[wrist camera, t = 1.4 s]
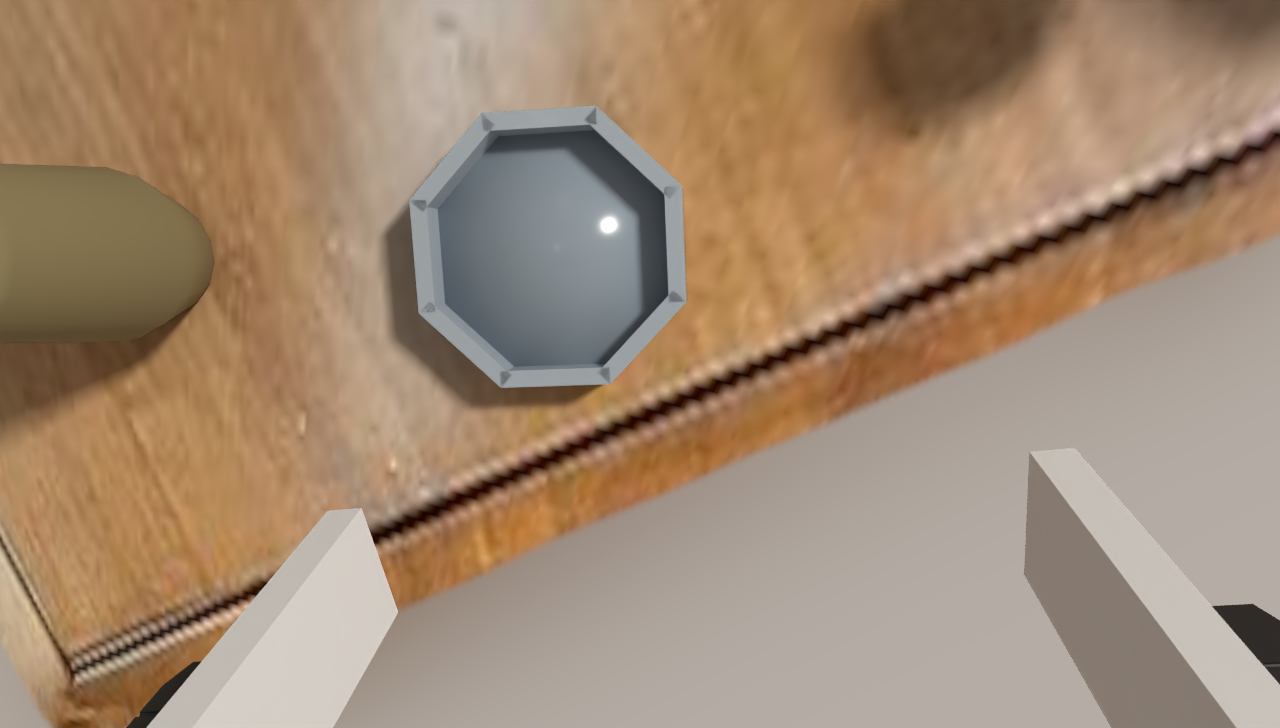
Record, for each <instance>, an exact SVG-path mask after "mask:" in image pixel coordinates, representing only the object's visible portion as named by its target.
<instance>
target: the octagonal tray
mask: <svg viewBox="0 0 1280 728" xmlns="http://www.w3.org/2000/svg"><path fill="white" fill-rule="evenodd" d="M409 205H410V217H411V228H412V240H413V252H414V264H415V276H416V288H417V300H418V312H419V314H420V315H421V316H422V317H423V318H424V319H425V320H427V321H428V322H429V323H430V324H431V325H432V326H433V327H434V328H435V329H437V330H438V331H439V332H440V333H441V334H442V335H443V336H444V337H445V338H446V339H448V340H449V341H450V342H451V343H452V344H453V345H454V346H455V347H456V348H457V349H459V350H460V351H461V352H462V353H463V354H464V355H465V356H466V357H467V358H468V359H470V360H471V361H472V362H473V363H474V364H475V365H476V366H477V367H478V368H480V369H481V370H482V371H483V372H484V373H485V374H486V375H487V376H488V377H489V378H491V379H492V380H493V381H494V382H495V383H496V384H497V385H498V386H499V387H500V388H514V387H543V386H572V385H602V384H611V383H612V382H613V381H614V380H615V379H616V378H617V376H618V375H619V374H620V373H621V372H622V371H623V370H624V369H625V368H626V367H627V366H628V365H629V363H630V362H631V361H632V360H633V359H634V358H635V357H636V356H637V355H638V354H639V353H640V352H641V350H642V349H643V348H644V347H645V346H646V345H647V344H648V343H649V342H650V341H651V340H652V339H653V337H654V336H655V335H656V334H657V333H658V332H659V331H660V330H661V329H662V328H663V327H664V326H665V324H666V323H667V322H668V321H669V320H670V319H671V318H672V317H673V316H674V315H675V314H676V313H677V311H678V310H679V309H680V308H681V307H682V306H683V305H684V304H685V303H686V301H687V286H686V260H685V234H684V207H683V189H682V185H681V184H680V183H679V182H678V181H677V180H675V179H674V178H673V177H672V176H671V175H670V174H669V173H668V172H667V171H666V170H665V169H664V168H663V167H661V166H660V165H659V164H658V163H657V162H656V161H655V160H654V159H653V158H652V157H651V156H650V155H649V154H647V153H646V152H645V151H644V150H643V149H642V148H641V147H640V146H639V145H638V144H637V143H636V142H635V141H633V140H632V139H631V138H630V137H629V136H628V135H627V134H626V133H625V132H624V131H623V130H622V129H621V128H620V127H618V126H617V125H616V124H615V123H614V122H613V121H612V120H611V119H610V118H609V117H608V116H607V115H606V114H604V113H603V112H602V111H601V110H600V109H599V108H598V107H597V106H582V107H567V108H551V109H535V110H520V111H504V112H488V113H481V114H480V115H479V117H478V118H477V119H476V120H475V121H474V123H473V124H472V125H471V126H470V127H469V129H468V130H467V131H466V132H465V134H464V135H463V136H462V137H461V138H460V140H459V141H458V142H457V143H456V144H455V146H454V147H453V148H452V149H451V150H450V152H449V153H448V154H447V155H446V156H445V158H444V159H443V160H442V161H441V163H440V164H439V165H438V166H437V167H436V169H435V170H434V171H433V172H432V173H431V175H430V176H429V177H428V178H427V179H426V181H425V182H424V183H423V184H422V186H421V187H420V188H419V189H418V190H417V192H416V193H415V194H414V195H413V196H412V198H411V199H410V201H409Z"/></svg>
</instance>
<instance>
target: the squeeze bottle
mask: <svg viewBox="0 0 1280 728" xmlns="http://www.w3.org/2000/svg"><path fill="white" fill-rule="evenodd" d="M213 266H214V258H213V252H212V246H211V240H210V238H209V237H208V235H207V233H206V231H205V230H204V228H203V226H202V224H201V223H200V221H199V219H197V218H196V217H195V216H194V215H192V214H191V213H190V212H189V211H188V210H186V209H185V208H184V207H183V206H181V205H180V204H179V203H177V202H176V201H174V200H173V199H171V198H169V197H168V196H166V195H165V194H163V193H162V192H160V191H159V190H157V189H156V188H154V187H153V186H151V185H150V184H148V183H147V182H145V181H144V180H142V179H141V178H139V177H136V176H133V175H130V174H126V173H123V172H120V171H117V170H113V169H110V168H107V167H78V166H48V165H19V164H0V343H24V342H113V341H123V340H134V339H139V338H141V337H143V336H144V335H146V334H148V333H149V332H151V331H153V330H155V329H156V328H158V327H160V326H161V325H163V324H165V323H166V322H168V321H169V320H171V319H172V318H174V317H175V316H177V315H178V314H180V313H181V312H183V311H184V310H186V309H187V308H189V307H190V306H192V305H193V304H195V303H196V302H197V301H198V300H199V299H200V297H201V296H202V294H203V293H204V292H205V290H206V289H207V287H208V286H209V284H210V280H211V275H212V271H213Z"/></svg>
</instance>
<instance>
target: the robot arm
mask: <svg viewBox="0 0 1280 728" xmlns="http://www.w3.org/2000/svg"><path fill="white" fill-rule="evenodd" d="M1027 501H1028V502H1027V522H1026V545H1025V547H1026V548H1025V569H1024V574H1025V576H1026V578H1027V580H1028V582H1029V583H1030V585H1031V587H1032V589H1033V590H1034V592H1035V594H1036V596H1037V598H1038V599H1039V601H1040V603H1041V605H1042V606H1043V608H1044V610H1045V612H1046V613H1047V615H1048V617H1049V618H1050V620H1051V622H1052V624H1053V626H1054V627H1055V629H1056V631H1057V633H1058V634H1059V636H1060V638H1061V640H1062V641H1063V643H1064V645H1065V647H1066V649H1067V650H1068V652H1069V654H1070V655H1071V657H1072V659H1073V661H1074V663H1075V664H1076V666H1077V668H1078V670H1079V671H1080V673H1081V675H1082V677H1083V678H1084V680H1085V682H1086V684H1087V686H1088V687H1089V689H1090V691H1091V693H1092V694H1093V696H1094V698H1095V700H1096V701H1097V703H1098V705H1099V706H1100V708H1101V710H1102V712H1103V714H1104V715H1105V717H1106V719H1107V721H1108V722H1109V724H1110V726H1111V728H1280V620H1278V619H1276V618H1275V617H1273V616H1272V615H1270V614H1268V613H1267V612H1265V611H1263V610H1262V609H1260V608H1258V607H1257V606H1255V605H1253V604H1245V605H1225V606H1211V605H1210V604H1209V602H1208V601H1207V600H1206V599H1205V598H1204V597H1203V596H1202V594H1201V593H1200V592H1199V591H1198V590H1197V589H1196V588H1195V586H1194V585H1193V584H1192V583H1191V582H1190V581H1189V579H1188V578H1187V577H1186V576H1185V575H1184V574H1183V572H1181V570H1180V569H1179V568H1178V567H1177V566H1176V564H1175V563H1174V562H1173V561H1172V560H1171V559H1170V557H1169V556H1168V555H1167V554H1166V553H1165V552H1164V551H1163V550H1162V548H1161V547H1160V546H1159V545H1158V544H1157V543H1156V542H1155V540H1154V539H1153V538H1152V537H1151V536H1150V534H1149V533H1148V532H1147V531H1146V530H1145V529H1144V528H1143V526H1142V525H1141V524H1140V523H1139V522H1138V521H1137V519H1136V518H1135V517H1134V516H1133V515H1132V514H1131V513H1130V511H1129V510H1128V509H1127V508H1126V507H1125V506H1124V504H1123V503H1122V502H1121V501H1120V500H1119V499H1118V498H1117V496H1116V495H1115V494H1114V493H1113V492H1112V491H1111V489H1110V488H1109V487H1108V486H1107V485H1106V484H1105V483H1104V481H1103V480H1102V479H1101V478H1100V477H1099V476H1098V474H1097V473H1096V472H1095V471H1094V470H1093V469H1092V468H1091V466H1090V465H1089V464H1088V463H1087V462H1086V461H1085V460H1084V458H1083V457H1082V456H1081V455H1080V454H1079V453H1078V451H1077V450H1076V449H1075V448H1069V449H1057V450H1046V451H1035V452H1034V451H1033V452H1029V476H1028V499H1027ZM397 614H398V610H397V607H396V605H395V602H394V599H393V596H392V593H391V590H390V588H389V585H388V582H387V579H386V576H385V573H384V571H383V568H382V565H381V562H380V559H379V557H378V554H377V551H376V548H375V545H374V542H373V540H372V537H371V534H370V531H369V528H368V525H367V523H366V520H365V517H364V514H363V511H362V508H356V509H344V510H332V511H327V512H326V513H325V515H324V516H323V517H322V518H321V519H320V521H319V522H318V523H317V524H316V525H315V527H314V528H313V529H312V530H311V531H310V533H309V534H308V535H307V536H306V537H305V539H304V540H303V541H302V542H301V543H300V545H299V546H298V547H297V548H296V549H295V550H294V552H293V553H292V554H291V555H290V556H289V558H288V559H287V560H286V561H285V562H284V564H283V565H282V566H281V567H280V568H279V570H278V571H277V572H276V573H275V574H274V576H273V577H272V578H271V579H270V580H269V582H268V583H267V584H266V585H265V586H264V588H263V589H262V590H261V591H260V592H259V594H258V595H257V596H256V597H255V598H254V600H253V601H252V602H251V603H250V604H249V606H248V607H247V608H246V609H245V610H244V611H243V613H242V614H241V615H240V616H239V617H238V619H237V620H236V621H235V622H234V623H233V625H232V626H231V627H230V628H229V629H228V631H227V632H226V633H225V634H224V635H223V637H222V638H221V639H220V640H219V641H218V643H217V644H216V645H215V646H214V647H213V649H212V650H211V651H210V652H209V653H208V655H207V656H206V657H205V658H204V659H203V661H202V662H193V663H191V664H190V665H189V666H187V667H186V668H185V669H184V670H182V671H181V672H180V673H178V674H177V675H176V676H174V677H173V678H172V679H171V680H169V681H168V682H167V683H165V684H164V685H163V686H162V687H161V688H160V689H159V691H158V692H157V693H156V694H155V695H154V696H153V697H152V699H151V700H150V701H149V702H148V703H147V704H146V706H145V707H144V708H143V709H142V710H141V711H140V716H139V717H135V718H134V719H133V721H132V722H131V723H130V724H129V725H128V726H127V728H333V727H334V725H335V724H336V722H337V720H338V718H339V716H340V715H341V713H342V711H343V709H344V708H345V706H346V704H347V702H348V700H349V699H350V697H351V695H352V693H353V692H354V690H355V688H356V686H357V685H358V683H359V681H360V679H361V677H362V676H363V674H364V672H365V670H366V669H367V667H368V665H369V663H370V661H371V660H372V658H373V656H374V654H375V652H376V651H377V649H378V647H379V646H380V644H381V642H382V640H383V638H384V637H385V635H386V633H387V631H388V629H389V628H390V626H391V624H392V623H393V621H394V619H395V617H396V615H397Z"/></svg>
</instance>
